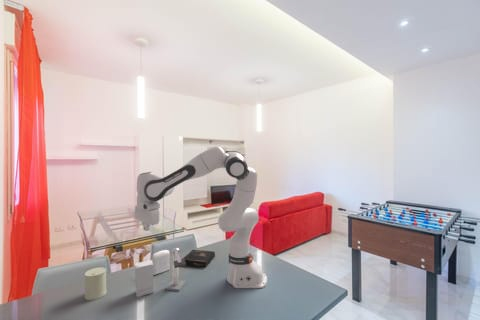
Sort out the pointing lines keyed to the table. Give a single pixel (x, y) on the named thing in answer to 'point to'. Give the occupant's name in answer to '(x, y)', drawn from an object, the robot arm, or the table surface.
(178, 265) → the swing arm
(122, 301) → the table surface
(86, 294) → the can
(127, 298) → the table surface
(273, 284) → the table surface
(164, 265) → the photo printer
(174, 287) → the post
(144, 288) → the skincare box
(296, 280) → the table surface
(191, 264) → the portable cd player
